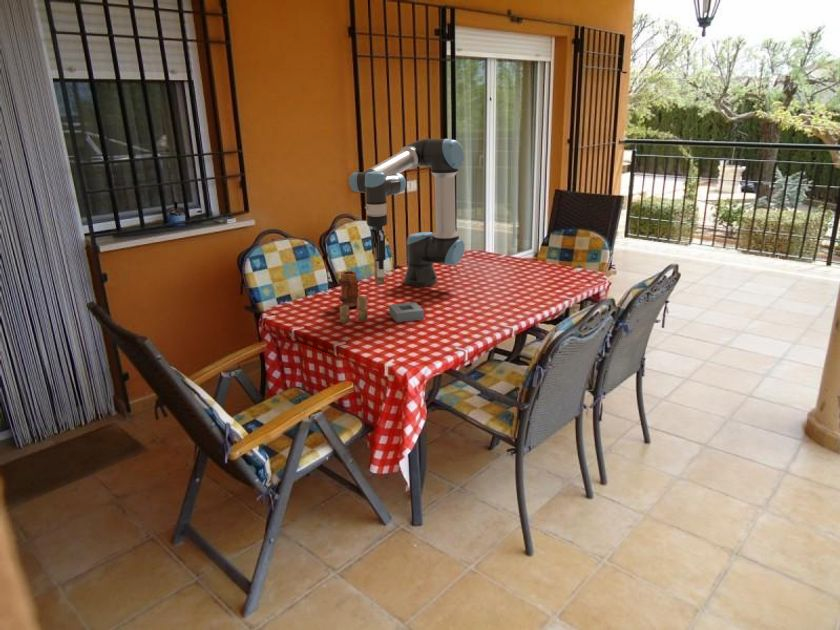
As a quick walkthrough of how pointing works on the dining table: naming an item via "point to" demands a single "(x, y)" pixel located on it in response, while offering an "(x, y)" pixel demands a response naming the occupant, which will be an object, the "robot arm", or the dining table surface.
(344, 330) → the dining table surface
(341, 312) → the dowel short
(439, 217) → the robot arm
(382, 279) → the dowel long
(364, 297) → the dowel medium
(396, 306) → the hole block
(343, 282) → the mug
